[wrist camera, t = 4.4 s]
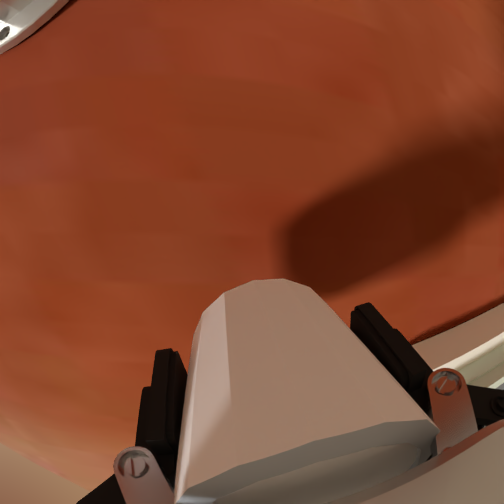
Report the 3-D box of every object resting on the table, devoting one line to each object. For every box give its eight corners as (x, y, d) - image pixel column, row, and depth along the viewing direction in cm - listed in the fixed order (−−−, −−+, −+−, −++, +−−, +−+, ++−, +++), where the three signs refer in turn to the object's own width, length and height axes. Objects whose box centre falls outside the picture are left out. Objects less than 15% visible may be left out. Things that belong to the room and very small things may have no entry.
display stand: (389, 353, 19) (429, 407, 14) (508, 299, 20) (549, 329, 14) (370, 451, 24) (390, 493, 19) (473, 401, 25) (498, 431, 19)
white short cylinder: (152, 286, 10) (114, 474, 4) (343, 242, 11) (479, 371, 4) (204, 409, 13) (217, 545, 6) (344, 374, 13) (408, 492, 7)
